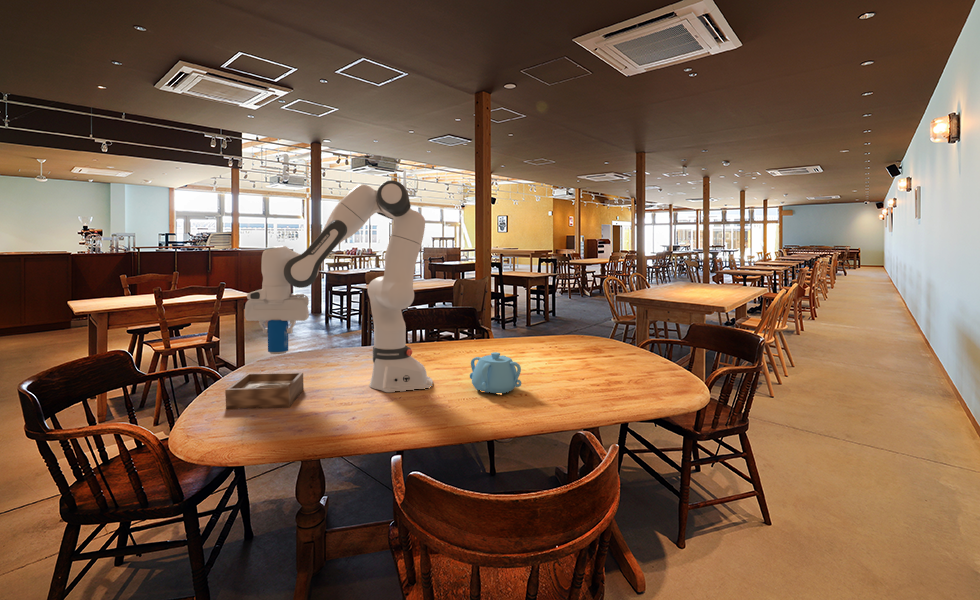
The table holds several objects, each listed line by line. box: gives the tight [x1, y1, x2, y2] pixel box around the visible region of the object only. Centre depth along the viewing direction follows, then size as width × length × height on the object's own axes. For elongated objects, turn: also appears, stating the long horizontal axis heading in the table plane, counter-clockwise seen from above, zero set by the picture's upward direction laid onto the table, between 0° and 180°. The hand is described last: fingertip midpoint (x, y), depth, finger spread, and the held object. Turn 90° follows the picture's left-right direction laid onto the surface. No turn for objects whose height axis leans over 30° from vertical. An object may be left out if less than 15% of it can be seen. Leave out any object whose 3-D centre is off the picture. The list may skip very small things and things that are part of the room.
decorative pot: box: [469, 351, 522, 394], centre depth 163 cm, size 16×16×14 cm
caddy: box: [224, 372, 305, 410], centre depth 149 cm, size 18×18×6 cm
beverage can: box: [267, 319, 289, 355], centre depth 160 cm, size 6×6×12 cm
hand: (277, 333), depth 159 cm, fingers closed on beverage can, 6 cm apart
